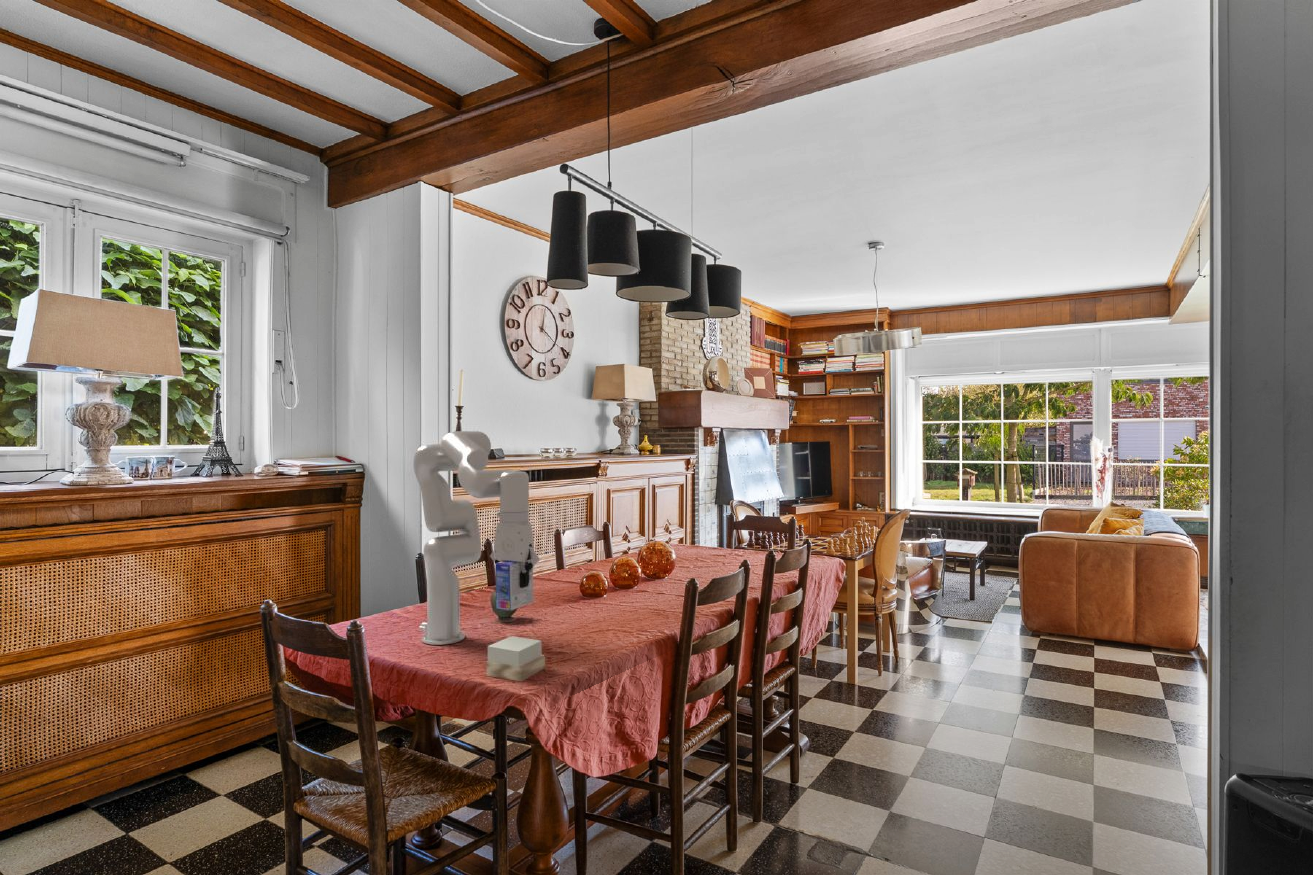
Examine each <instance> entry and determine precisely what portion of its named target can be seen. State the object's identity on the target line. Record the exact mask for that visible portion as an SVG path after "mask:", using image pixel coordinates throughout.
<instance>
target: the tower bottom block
mask: <svg viewBox="0 0 1313 875" xmlns="http://www.w3.org/2000/svg"><path fill="white" fill-rule="evenodd" d="M485 663H486V664H485V666H486V667H485V668H486V669H485V671H486V672H485V674H486V675H485V676H487V677H493V678H500V679H504V680H512V681H517V682H523V681H525V680H527V679H529V678H531V677H532V676H534V675H535V674H538V673H539V672H540V671H542V670H545V668H546V655H545V654H542V656H540V657H538V658H536V659H534V660H532V661H530V662H528V663H526V664H524V665H522V666H520V667H516V666H510V665H505V664H499V663H493V662H488V661H486V662H485Z"/></svg>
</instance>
